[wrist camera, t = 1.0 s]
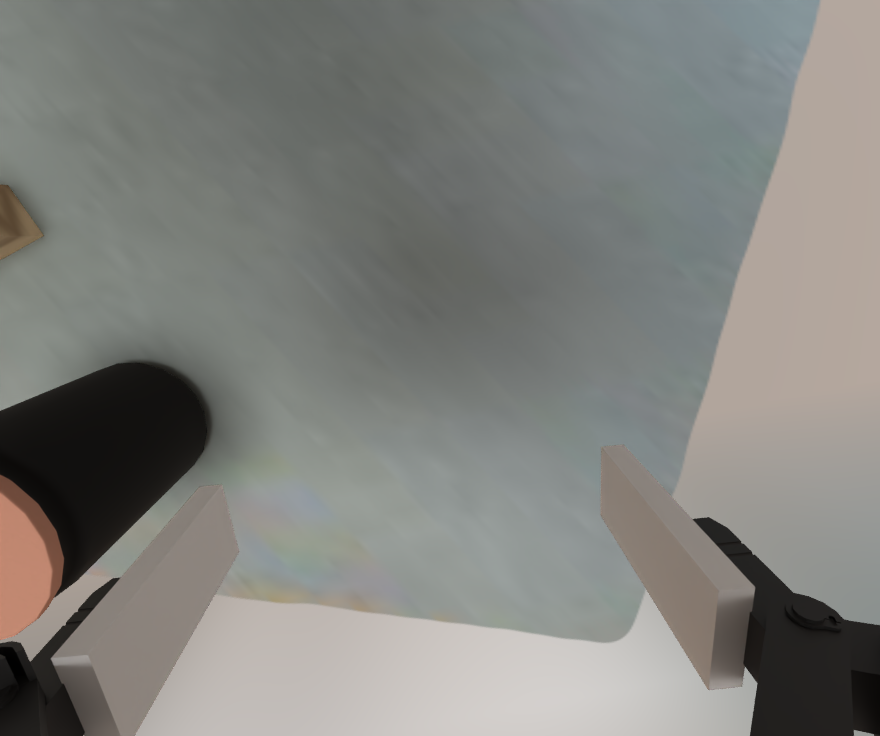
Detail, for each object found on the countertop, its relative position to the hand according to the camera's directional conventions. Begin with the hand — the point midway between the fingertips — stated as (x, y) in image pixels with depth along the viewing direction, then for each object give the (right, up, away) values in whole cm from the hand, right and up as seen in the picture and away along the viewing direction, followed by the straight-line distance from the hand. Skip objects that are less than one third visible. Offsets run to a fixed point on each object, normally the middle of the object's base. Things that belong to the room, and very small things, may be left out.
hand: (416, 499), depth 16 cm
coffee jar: (-24, 0, +24) cm, 34 cm away
